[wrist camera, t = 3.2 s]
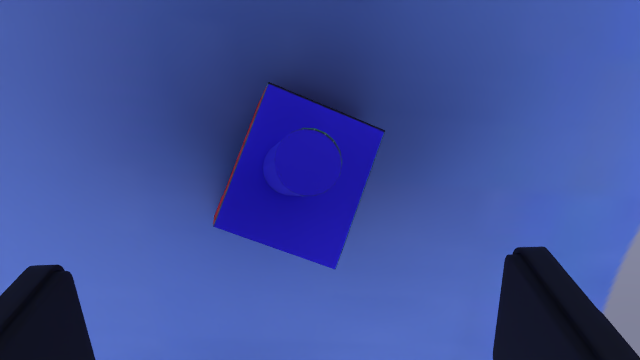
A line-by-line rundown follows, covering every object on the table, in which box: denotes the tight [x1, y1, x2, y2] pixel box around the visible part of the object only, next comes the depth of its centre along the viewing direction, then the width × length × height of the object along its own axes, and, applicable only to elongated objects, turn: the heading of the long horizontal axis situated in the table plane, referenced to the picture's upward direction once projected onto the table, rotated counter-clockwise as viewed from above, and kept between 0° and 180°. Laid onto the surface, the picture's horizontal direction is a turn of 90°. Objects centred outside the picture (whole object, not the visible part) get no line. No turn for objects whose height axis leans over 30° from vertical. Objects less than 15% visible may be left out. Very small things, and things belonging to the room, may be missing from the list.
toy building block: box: [213, 82, 385, 269], centre depth 15 cm, size 4×4×8 cm
